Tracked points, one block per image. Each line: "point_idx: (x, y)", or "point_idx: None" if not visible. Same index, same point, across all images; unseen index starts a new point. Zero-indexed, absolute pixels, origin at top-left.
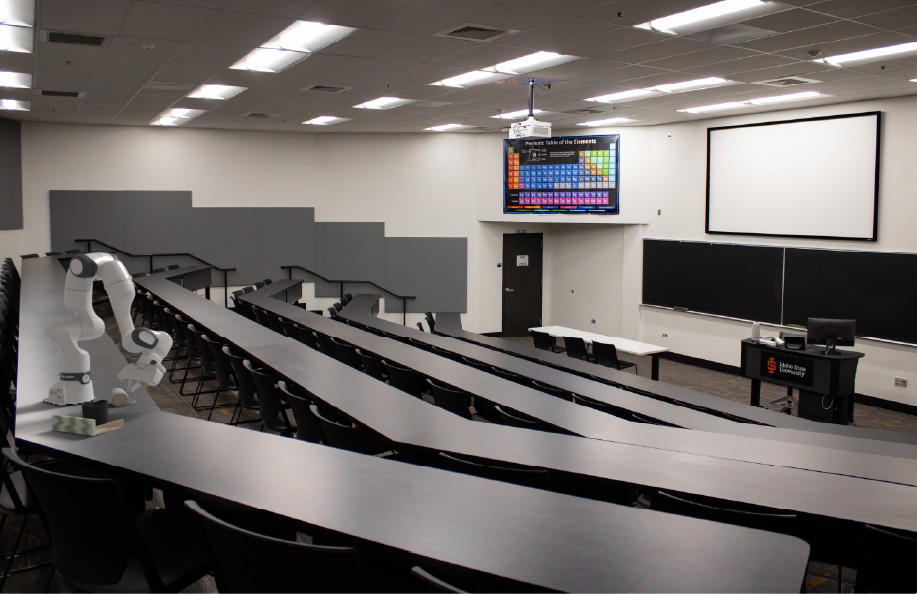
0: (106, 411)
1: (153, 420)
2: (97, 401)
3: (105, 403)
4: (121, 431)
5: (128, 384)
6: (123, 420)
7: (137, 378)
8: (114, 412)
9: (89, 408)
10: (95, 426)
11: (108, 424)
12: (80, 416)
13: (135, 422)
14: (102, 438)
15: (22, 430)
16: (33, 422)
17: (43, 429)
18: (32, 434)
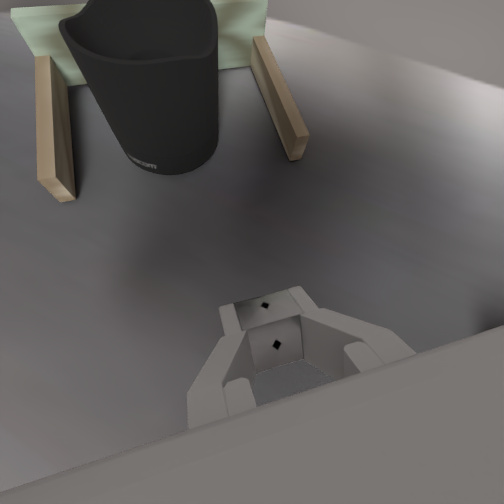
0: (94, 95)
1: (15, 370)
2: (193, 58)
3: (61, 34)
4: (24, 173)
5: (342, 316)
6: (40, 180)
7: (232, 445)
8: (375, 316)
9: (108, 3)
10: (32, 51)
11: (38, 108)
12: (286, 114)
13: (87, 282)
14: (21, 100)
15: (346, 40)
16: (424, 82)
17: (311, 65)
18: (279, 36)
